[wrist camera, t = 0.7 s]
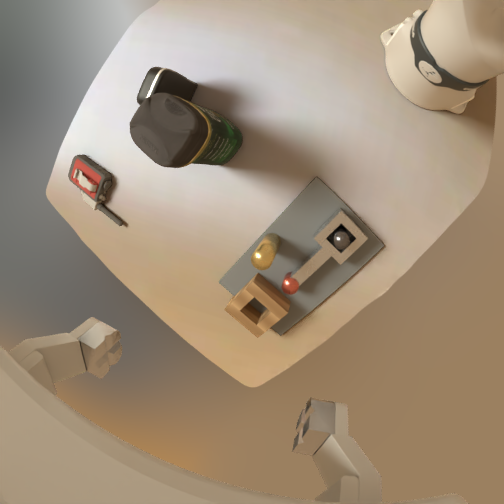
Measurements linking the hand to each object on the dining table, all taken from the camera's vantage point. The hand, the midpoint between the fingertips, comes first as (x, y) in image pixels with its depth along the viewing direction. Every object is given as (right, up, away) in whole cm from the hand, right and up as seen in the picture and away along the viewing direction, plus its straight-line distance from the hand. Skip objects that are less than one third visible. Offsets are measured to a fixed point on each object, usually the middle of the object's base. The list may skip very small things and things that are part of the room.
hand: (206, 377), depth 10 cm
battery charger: (-10, +32, +33) cm, 47 cm away
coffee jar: (-4, +24, +34) cm, 42 cm away
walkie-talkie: (-31, +19, +43) cm, 56 cm away
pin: (+5, +7, +37) cm, 38 cm away
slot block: (+3, -4, +41) cm, 41 cm away
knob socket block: (+13, +5, +35) cm, 38 cm away
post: (+16, +8, +34) cm, 38 cm away
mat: (+10, +3, +38) cm, 39 cm away
